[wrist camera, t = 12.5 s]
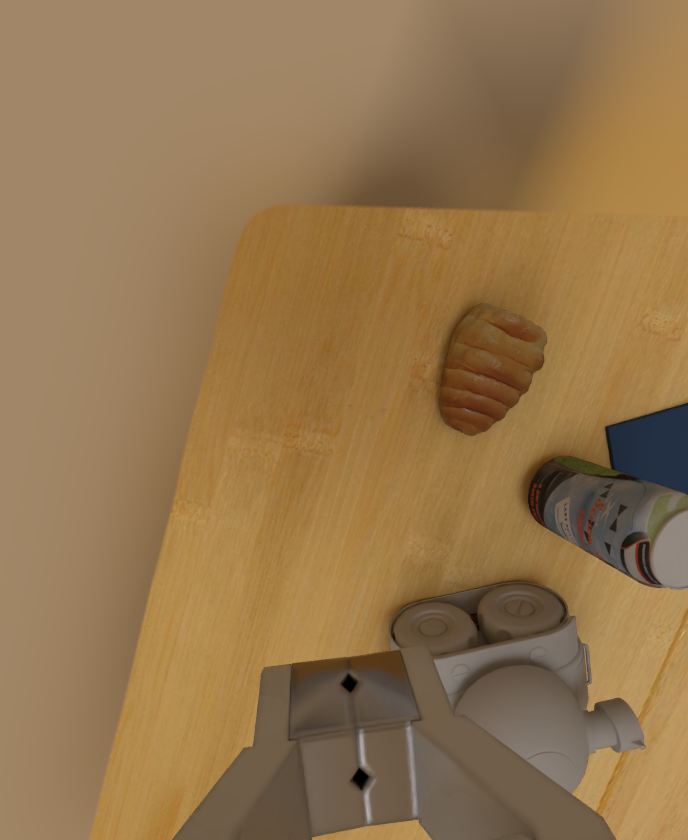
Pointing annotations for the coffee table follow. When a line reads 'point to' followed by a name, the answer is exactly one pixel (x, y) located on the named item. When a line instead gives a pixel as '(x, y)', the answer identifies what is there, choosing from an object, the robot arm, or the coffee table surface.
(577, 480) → the beverage can
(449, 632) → the toy tank
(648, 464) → the book
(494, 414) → the pastry
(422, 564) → the coffee table surface
